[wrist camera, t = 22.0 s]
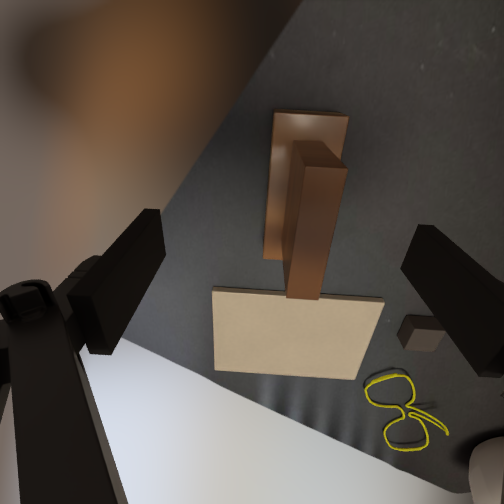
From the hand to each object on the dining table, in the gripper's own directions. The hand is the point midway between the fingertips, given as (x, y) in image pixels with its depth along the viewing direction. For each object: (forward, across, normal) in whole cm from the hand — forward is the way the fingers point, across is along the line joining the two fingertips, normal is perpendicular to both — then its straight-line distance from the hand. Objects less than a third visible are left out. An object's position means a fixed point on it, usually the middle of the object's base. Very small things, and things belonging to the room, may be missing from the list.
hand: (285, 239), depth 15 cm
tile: (+15, +4, -24) cm, 29 cm away
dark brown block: (+15, +21, -21) cm, 33 cm away
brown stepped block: (+16, +2, -2) cm, 16 cm away
